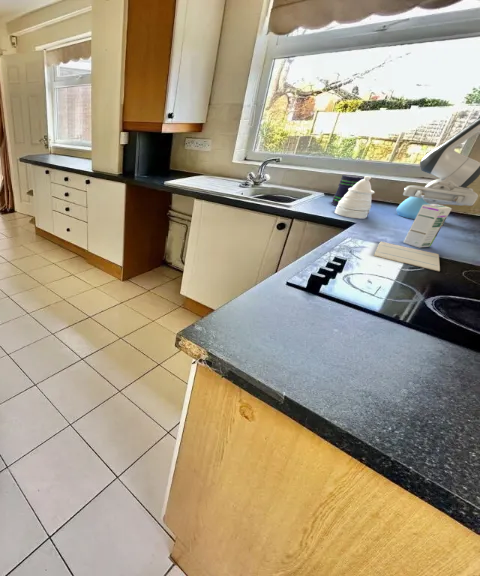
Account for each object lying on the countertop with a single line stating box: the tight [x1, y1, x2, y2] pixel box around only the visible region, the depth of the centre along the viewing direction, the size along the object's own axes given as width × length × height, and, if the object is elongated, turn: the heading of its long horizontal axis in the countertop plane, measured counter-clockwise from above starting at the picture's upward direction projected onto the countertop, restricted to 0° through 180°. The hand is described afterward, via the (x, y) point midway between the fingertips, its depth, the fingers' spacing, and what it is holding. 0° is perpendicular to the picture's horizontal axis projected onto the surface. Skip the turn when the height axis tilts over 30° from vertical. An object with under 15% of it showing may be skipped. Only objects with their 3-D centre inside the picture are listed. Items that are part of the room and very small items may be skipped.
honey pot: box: [334, 175, 376, 220], centre depth 149 cm, size 13×13×18 cm
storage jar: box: [331, 174, 365, 206], centre depth 169 cm, size 10×10×15 cm
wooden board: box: [373, 241, 441, 272], centre depth 107 cm, size 16×20×1 cm
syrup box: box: [403, 204, 453, 249], centre depth 114 cm, size 6×6×14 cm
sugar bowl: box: [396, 196, 440, 220], centre depth 153 cm, size 15×15×12 cm
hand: (438, 197), depth 118 cm, fingers open, 8 cm apart
